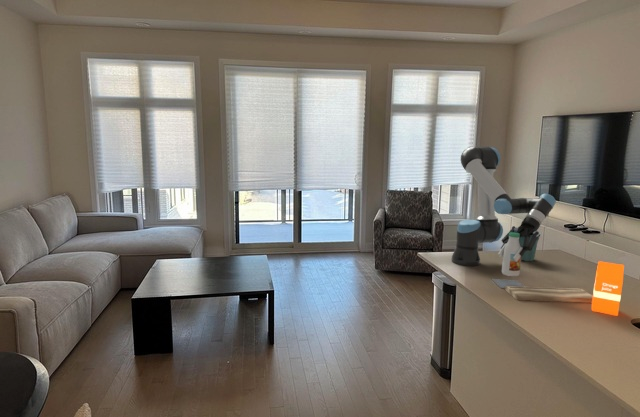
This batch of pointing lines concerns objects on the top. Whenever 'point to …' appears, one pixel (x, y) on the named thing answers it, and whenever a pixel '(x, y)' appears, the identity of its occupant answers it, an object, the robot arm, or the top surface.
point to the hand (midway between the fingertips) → (507, 257)
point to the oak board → (549, 294)
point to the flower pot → (528, 254)
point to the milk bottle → (511, 256)
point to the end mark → (506, 283)
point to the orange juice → (607, 288)
